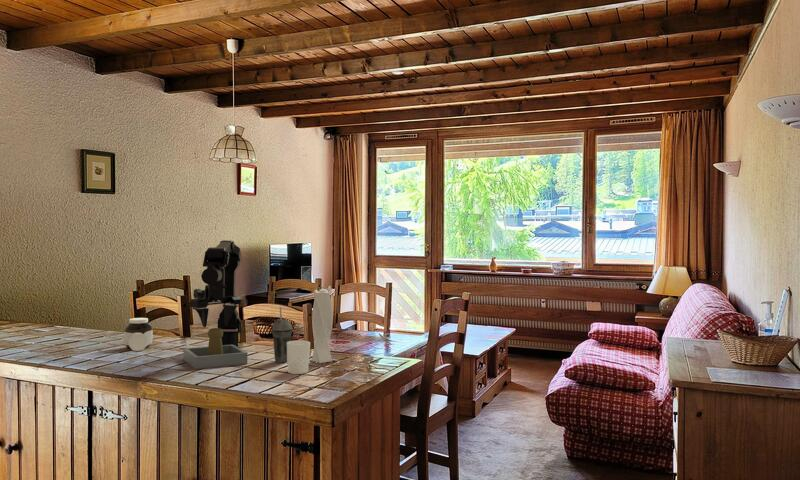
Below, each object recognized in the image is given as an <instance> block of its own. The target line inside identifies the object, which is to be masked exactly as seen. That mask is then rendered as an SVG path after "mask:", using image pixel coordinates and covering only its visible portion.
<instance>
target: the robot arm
mask: <svg viewBox="0 0 800 480" xmlns="http://www.w3.org/2000/svg"><path fill="white" fill-rule="evenodd" d="M241 262H242V251H241V248H240V247H239V246H237V245H236V244H235V241H234V240H221V241H220V242H219V244H217V246H214V247H212V246H211V247H208V248H207V249H206V250H205V253H204V256H203V262H202V267H206V268H205V269H204V270H203V271H202V273H201V275H200V276H201V280H202V281H203V283H204V284H206V285H205V287H204V289H203V290H202V289H201V288H195V289H193V298H191V299H190V300H189V301H188V307H189V308H191V309H192V310H195V312H197V314H198V316H199V319H200V322H201V325H202V327H203V328H206V327H207V324H208V316H209V310H210V309H209V308H207V307H208V306H213V305H222V307H223V309H222V310H221V312H220V313H219V315H218V316H219V317H218V318H217V328H220V329H222V330H223V336H222V337H221V339H222V345H235V346H237V347H238V348H240V346H239V334H242V333H243V326H242V321H241V318H240V314H239V312H238V310H237V308H239V305H242V298H241V296H238V295H237V296H236V280H237V279H236V275H237V274H236V273H237V270H238V268H240V266H241V265H240V264H241ZM240 349H241V348H240Z"/></svg>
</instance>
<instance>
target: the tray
mask: <svg viewBox="0 0 800 480" xmlns="http://www.w3.org/2000/svg"><path fill="white" fill-rule="evenodd" d="M222 347H223V354H220V355H208V356H207V351H208V346H196V347H188V348H187V347H185V348H183V361H185V362H186V363H187V364H188V365H189V366H190V367H192V368H193V369H194V370H200V369H212V368H219V367H229V366H240V365H248V351H245V350H243V349H242V348H238V347H237V346H235V345H222Z"/></svg>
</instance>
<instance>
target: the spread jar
mask: <svg viewBox="0 0 800 480" xmlns="http://www.w3.org/2000/svg"><path fill="white" fill-rule="evenodd" d="M128 321H129V323H128V324H127V325H126V327H124V331H123V344H124V346H125V347H126V348H127V349H129V350H132V351H134V352H141V351H144V348H145V349H147V348H149V347H150V346H151V345H152V343H153V333H154V332H153V327H152V326H151V325H150V324H149V323H148V322H149V318H148V317H133V318H129V320H128Z"/></svg>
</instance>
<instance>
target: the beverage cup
mask: <svg viewBox="0 0 800 480" xmlns="http://www.w3.org/2000/svg"><path fill="white" fill-rule="evenodd" d="M279 317H280V318H278V319H277V320H275V322H274V323H273V324H272V329H271V333H272V339H273V352H274V363H276V362H278V364H283V363H282V362H286V363H287V342H289V341H291V336H292V333H293V328H292V324H291V322H290V320H288V319H286V318H283V316H282V307H281V306H279Z"/></svg>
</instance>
